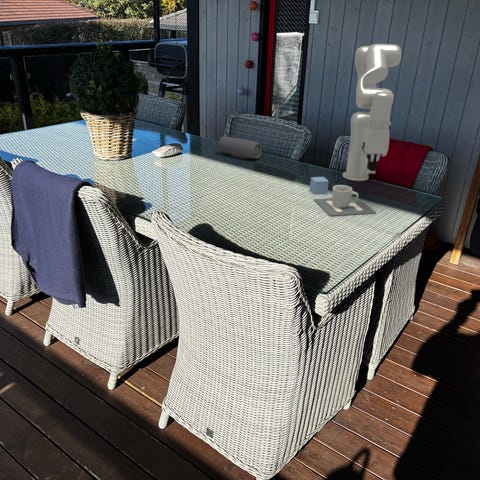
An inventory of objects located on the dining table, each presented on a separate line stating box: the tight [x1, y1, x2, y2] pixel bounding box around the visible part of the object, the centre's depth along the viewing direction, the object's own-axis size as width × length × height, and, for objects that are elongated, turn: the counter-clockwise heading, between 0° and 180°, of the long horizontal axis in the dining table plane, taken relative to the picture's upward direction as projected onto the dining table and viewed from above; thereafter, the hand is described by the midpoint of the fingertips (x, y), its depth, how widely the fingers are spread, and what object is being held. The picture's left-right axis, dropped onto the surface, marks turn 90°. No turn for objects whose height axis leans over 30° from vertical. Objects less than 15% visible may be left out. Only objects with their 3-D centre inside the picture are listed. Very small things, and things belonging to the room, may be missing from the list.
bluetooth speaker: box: [217, 136, 263, 160], centre depth 262 cm, size 23×9×10 cm, turn 58°
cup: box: [332, 184, 359, 208], centre depth 199 cm, size 11×8×8 cm
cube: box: [309, 176, 329, 195], centre depth 216 cm, size 6×6×6 cm
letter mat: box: [313, 196, 377, 217], centre depth 202 cm, size 20×18×1 cm
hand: (371, 170), depth 197 cm, fingers closed
